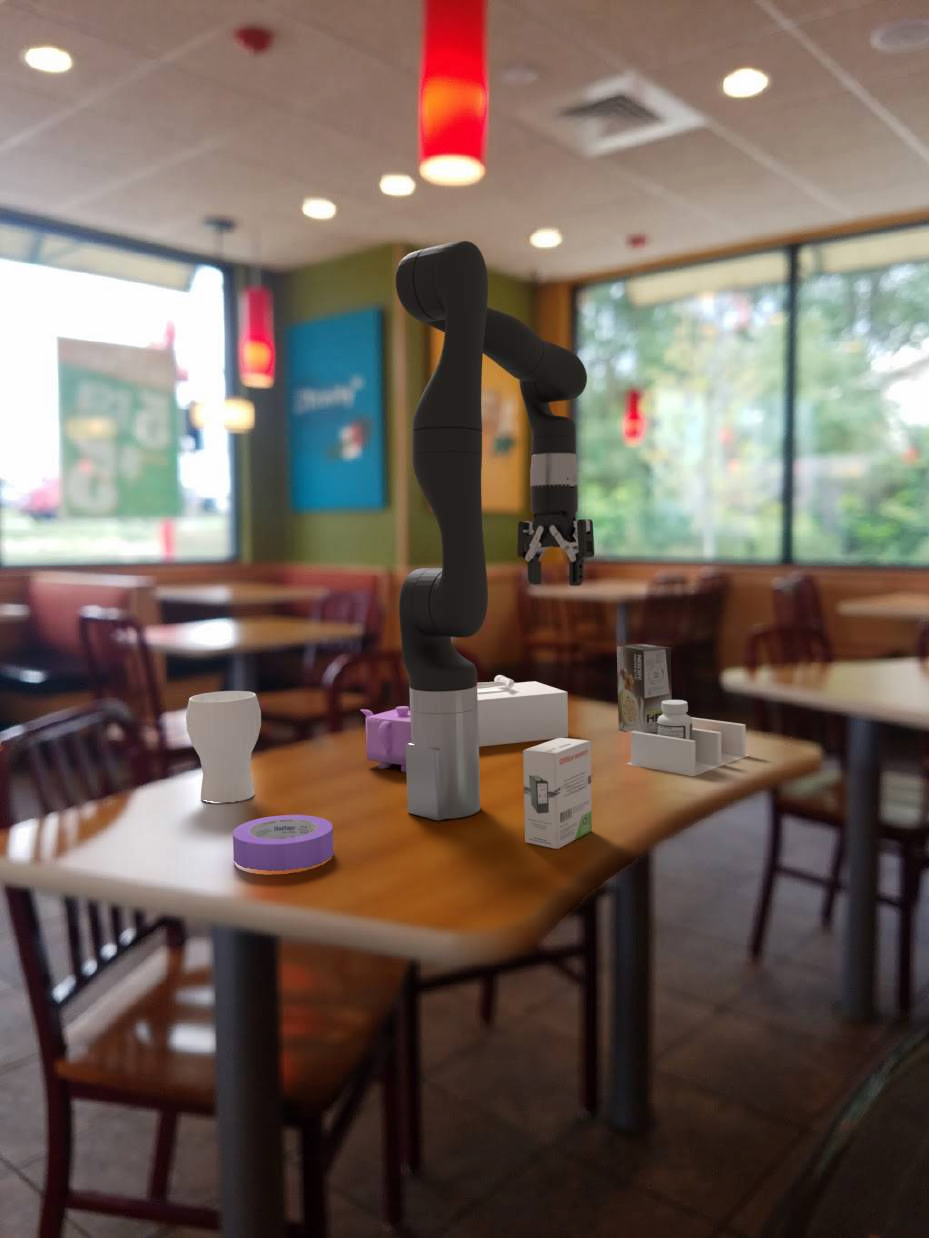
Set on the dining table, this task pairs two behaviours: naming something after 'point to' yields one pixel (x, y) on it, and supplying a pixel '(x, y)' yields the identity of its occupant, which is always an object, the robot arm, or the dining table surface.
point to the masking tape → (283, 842)
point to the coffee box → (642, 685)
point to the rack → (690, 748)
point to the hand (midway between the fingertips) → (555, 584)
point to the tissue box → (520, 712)
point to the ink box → (557, 792)
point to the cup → (224, 742)
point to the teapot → (388, 736)
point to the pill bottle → (675, 720)
